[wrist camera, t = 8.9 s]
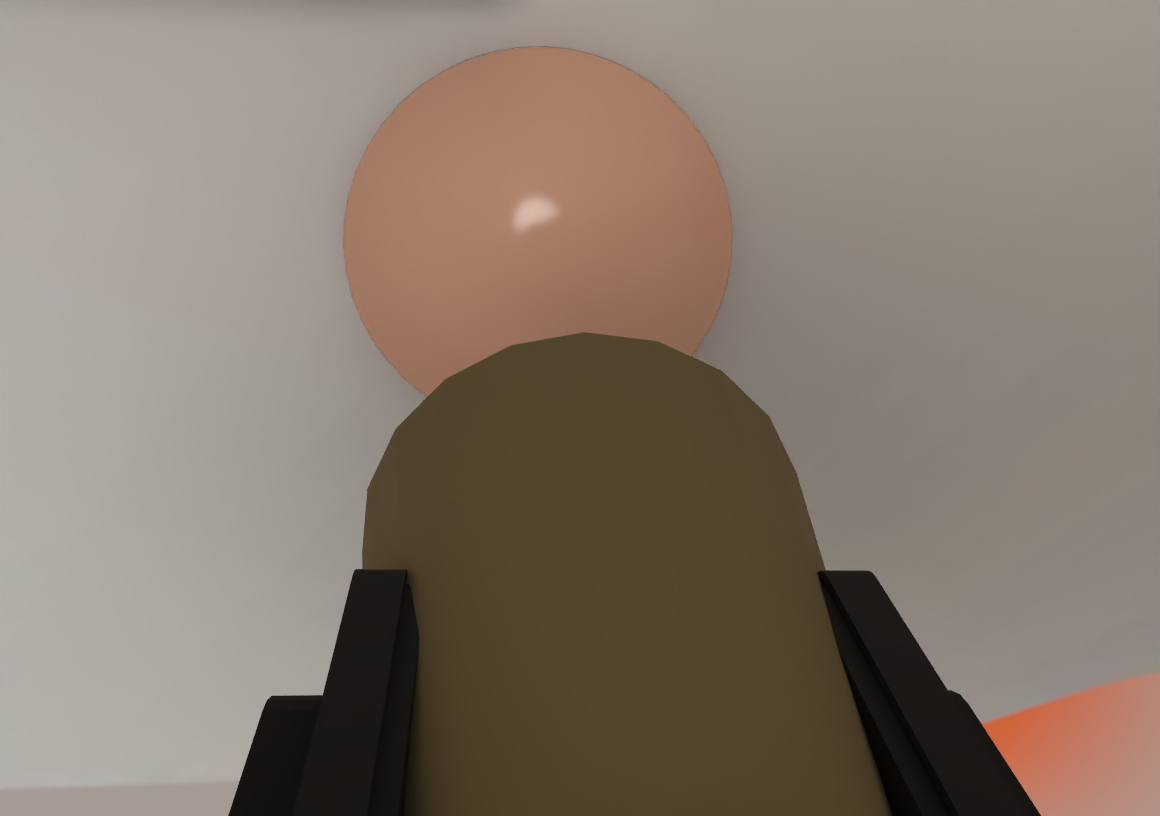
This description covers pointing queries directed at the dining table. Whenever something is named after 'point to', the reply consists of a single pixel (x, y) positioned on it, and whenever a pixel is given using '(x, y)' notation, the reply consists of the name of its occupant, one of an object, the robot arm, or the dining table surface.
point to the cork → (613, 596)
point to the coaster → (534, 214)
